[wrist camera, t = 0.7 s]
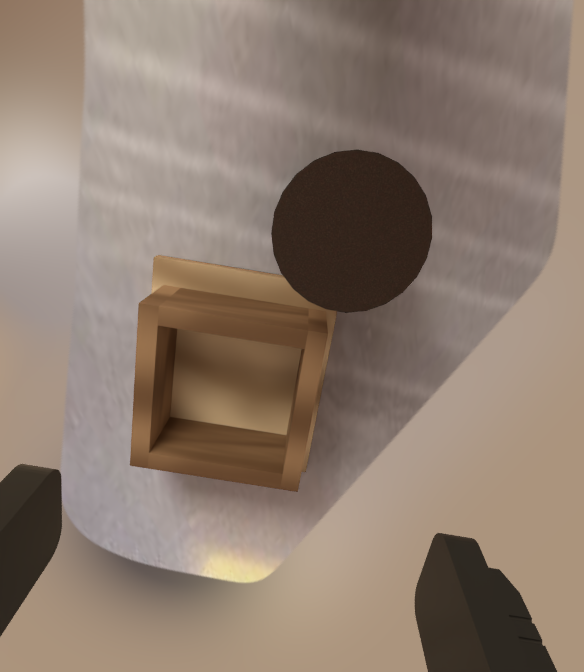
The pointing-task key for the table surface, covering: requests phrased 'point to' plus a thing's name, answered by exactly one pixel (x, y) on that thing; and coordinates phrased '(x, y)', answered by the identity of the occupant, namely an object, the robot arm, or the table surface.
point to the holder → (227, 374)
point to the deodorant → (351, 231)
